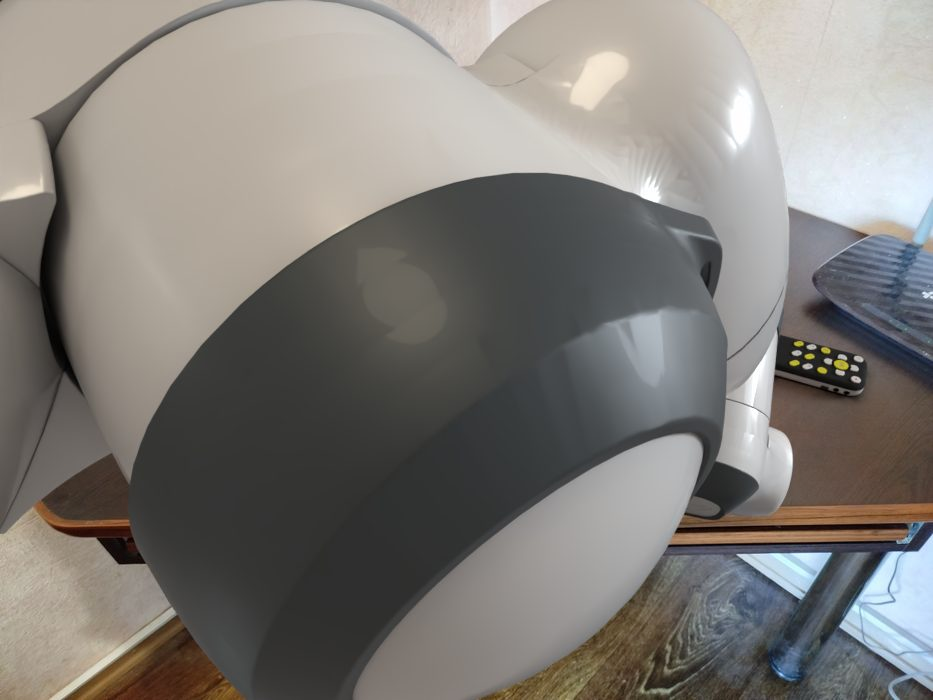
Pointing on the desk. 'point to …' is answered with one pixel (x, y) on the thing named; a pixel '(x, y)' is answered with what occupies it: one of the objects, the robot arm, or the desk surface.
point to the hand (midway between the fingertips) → (444, 409)
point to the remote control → (820, 366)
